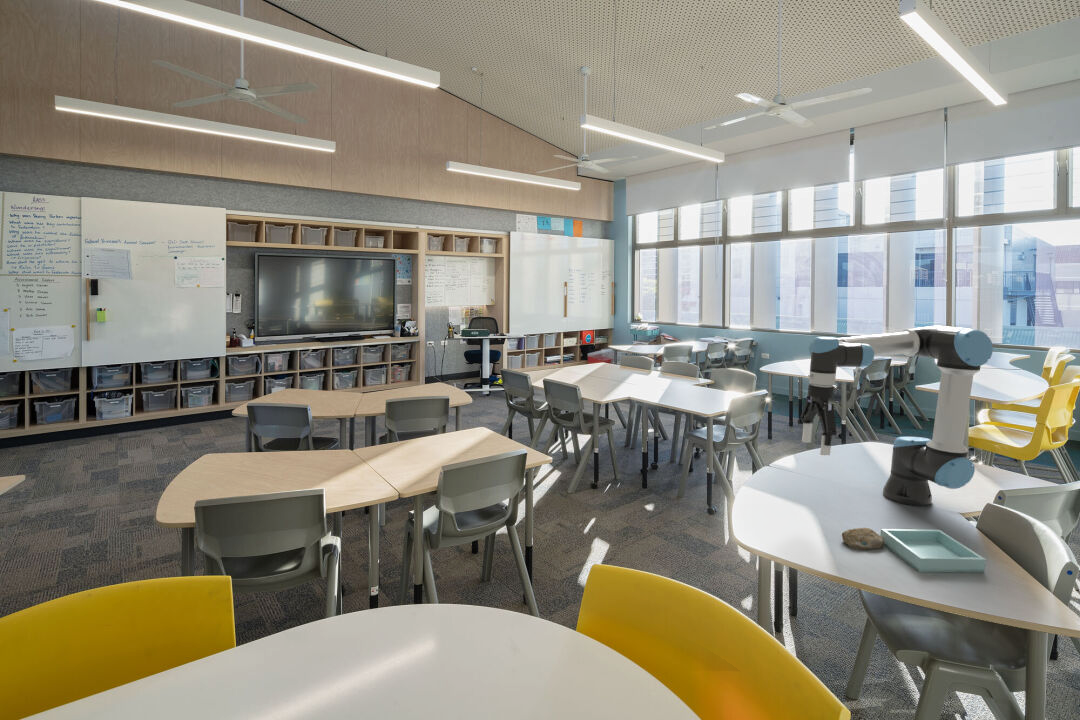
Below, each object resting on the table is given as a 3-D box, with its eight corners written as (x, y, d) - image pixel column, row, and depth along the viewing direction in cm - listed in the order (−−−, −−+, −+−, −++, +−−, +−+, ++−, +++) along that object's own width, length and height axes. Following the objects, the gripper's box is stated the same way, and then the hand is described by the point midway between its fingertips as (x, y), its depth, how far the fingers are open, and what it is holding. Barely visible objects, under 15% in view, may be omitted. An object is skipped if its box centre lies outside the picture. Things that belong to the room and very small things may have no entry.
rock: (836, 540, 171) (838, 527, 170) (867, 537, 173) (868, 524, 173) (855, 552, 164) (856, 538, 163) (887, 548, 166) (888, 535, 165)
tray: (938, 542, 170) (939, 529, 170) (984, 572, 153) (985, 559, 152) (879, 541, 170) (881, 528, 170) (918, 571, 153) (920, 558, 152)
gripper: (793, 377, 191) (788, 437, 194) (828, 392, 166) (821, 460, 169) (815, 378, 190) (810, 437, 193) (853, 393, 166) (846, 461, 169)
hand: (815, 448), depth 181 cm, fingers open, 13 cm apart
